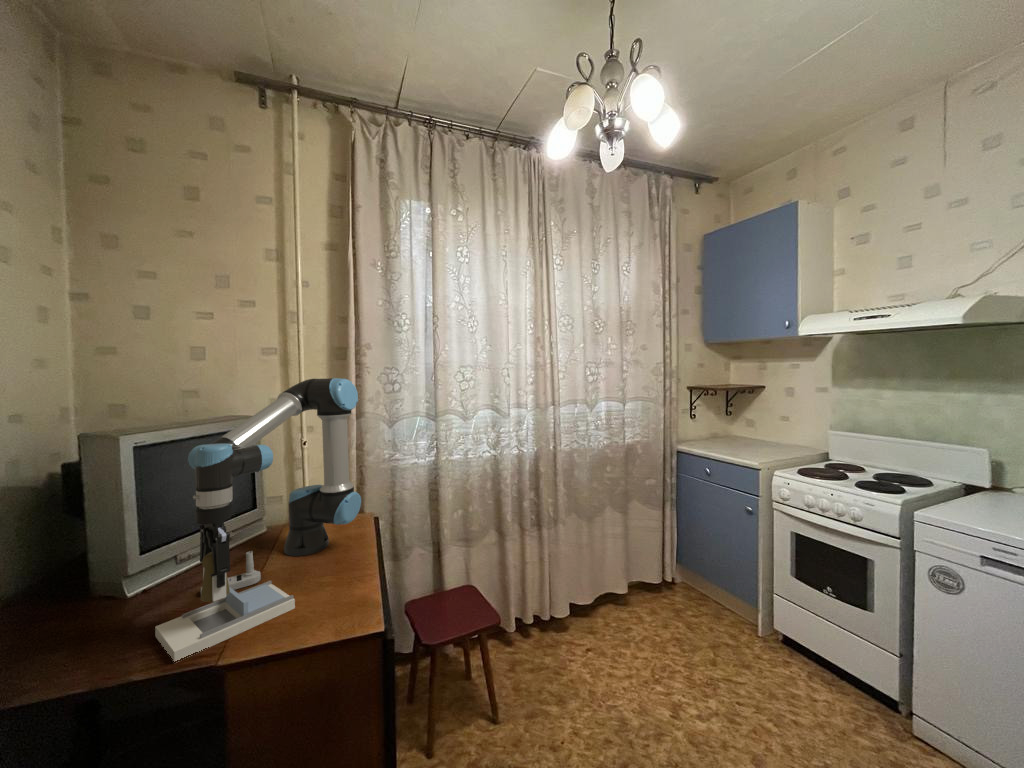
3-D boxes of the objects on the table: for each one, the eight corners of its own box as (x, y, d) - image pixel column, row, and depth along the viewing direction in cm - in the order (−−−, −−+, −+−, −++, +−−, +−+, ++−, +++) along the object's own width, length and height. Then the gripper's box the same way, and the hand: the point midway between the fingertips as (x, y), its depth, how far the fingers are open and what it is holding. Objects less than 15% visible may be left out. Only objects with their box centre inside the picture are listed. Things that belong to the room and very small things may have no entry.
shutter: (265, 586, 115) (265, 573, 115) (285, 599, 108) (284, 586, 108) (225, 601, 107) (225, 588, 107) (243, 617, 100) (243, 603, 100)
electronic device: (199, 561, 117) (258, 547, 126) (201, 593, 117) (260, 576, 126) (198, 568, 113) (259, 553, 122) (200, 601, 113) (261, 583, 122)
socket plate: (269, 590, 117) (269, 579, 117) (294, 608, 108) (294, 596, 108) (155, 636, 96) (155, 623, 96) (174, 663, 87) (174, 648, 87)
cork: (211, 589, 102) (210, 548, 102) (235, 588, 103) (234, 547, 103) (194, 602, 96) (193, 558, 96) (219, 601, 97) (219, 557, 97)
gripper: (184, 502, 102) (184, 589, 102) (209, 515, 91) (209, 614, 91) (218, 495, 108) (218, 578, 108) (245, 507, 97) (246, 599, 97)
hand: (214, 594), depth 100 cm, fingers closed on cork, 6 cm apart
